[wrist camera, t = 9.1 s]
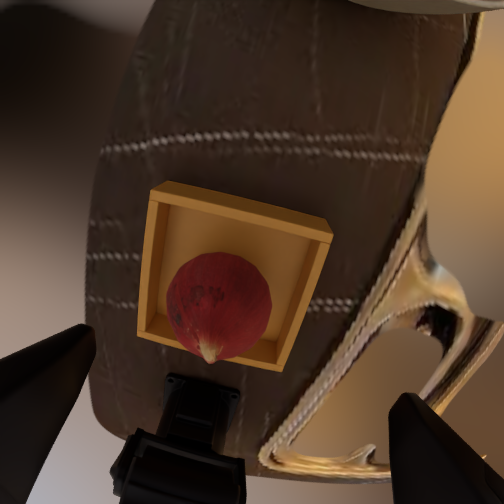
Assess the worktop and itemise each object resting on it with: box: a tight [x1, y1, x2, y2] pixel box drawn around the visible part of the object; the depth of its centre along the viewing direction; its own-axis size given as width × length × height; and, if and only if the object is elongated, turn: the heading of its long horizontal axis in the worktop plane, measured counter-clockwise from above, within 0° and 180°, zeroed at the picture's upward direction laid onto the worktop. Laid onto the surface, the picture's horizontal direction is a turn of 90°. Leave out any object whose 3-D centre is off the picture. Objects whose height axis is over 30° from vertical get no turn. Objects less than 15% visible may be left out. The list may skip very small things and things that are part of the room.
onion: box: [166, 252, 272, 364], centre depth 17 cm, size 6×6×8 cm
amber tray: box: [137, 181, 334, 372], centre depth 20 cm, size 10×10×3 cm
